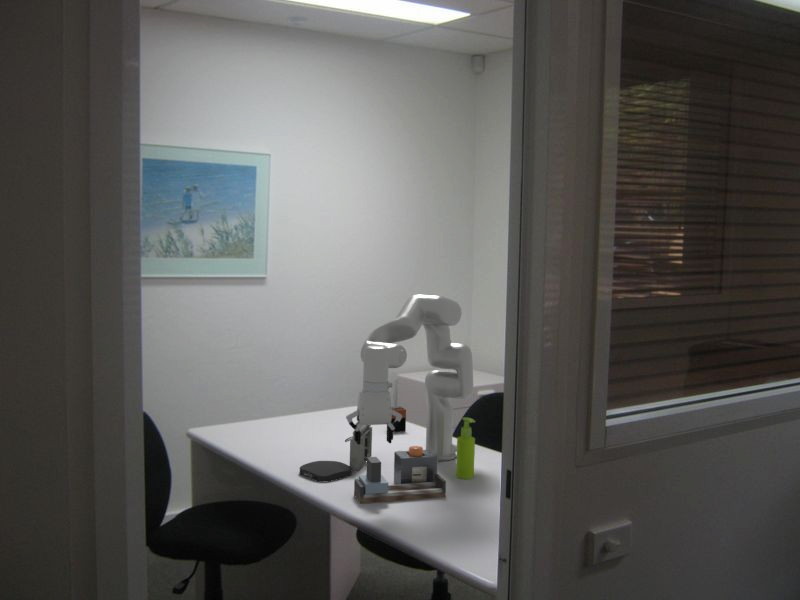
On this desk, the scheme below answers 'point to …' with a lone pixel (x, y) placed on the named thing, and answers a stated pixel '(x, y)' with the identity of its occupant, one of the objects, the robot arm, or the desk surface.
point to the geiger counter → (360, 448)
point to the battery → (402, 423)
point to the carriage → (373, 478)
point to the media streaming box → (325, 470)
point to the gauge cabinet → (414, 467)
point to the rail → (403, 491)
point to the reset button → (415, 451)
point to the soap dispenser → (465, 451)
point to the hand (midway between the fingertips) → (373, 442)
